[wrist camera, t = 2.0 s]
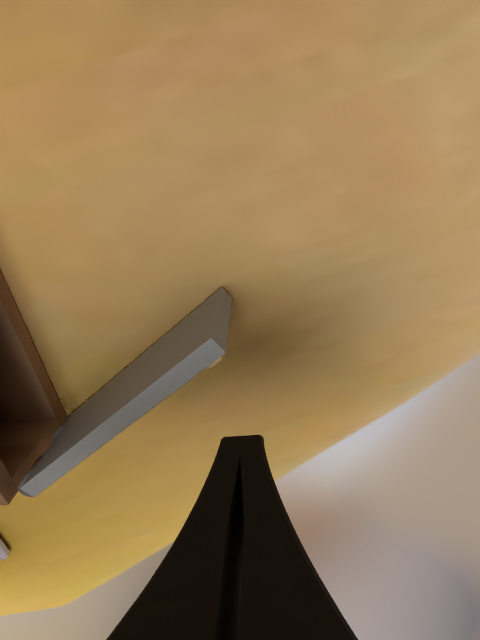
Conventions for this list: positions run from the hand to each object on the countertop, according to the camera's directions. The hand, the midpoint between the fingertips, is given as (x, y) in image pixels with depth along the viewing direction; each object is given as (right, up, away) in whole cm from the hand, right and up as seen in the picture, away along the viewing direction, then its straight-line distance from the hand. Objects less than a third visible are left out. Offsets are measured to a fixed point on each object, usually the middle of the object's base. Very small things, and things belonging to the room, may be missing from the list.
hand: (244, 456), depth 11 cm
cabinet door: (-5, +2, +7) cm, 9 cm away
